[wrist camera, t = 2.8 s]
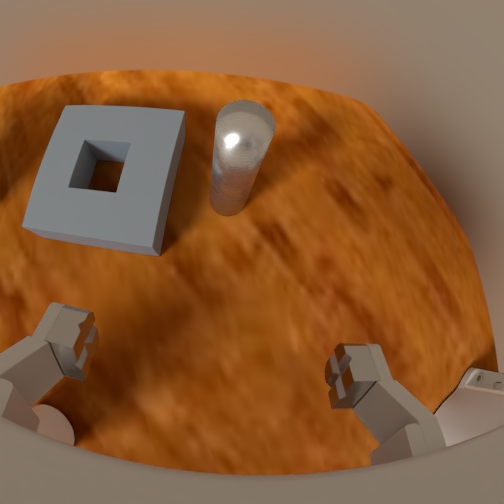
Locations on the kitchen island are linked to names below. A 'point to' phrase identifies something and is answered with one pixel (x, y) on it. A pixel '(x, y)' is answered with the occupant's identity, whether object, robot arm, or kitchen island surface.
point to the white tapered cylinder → (54, 424)
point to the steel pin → (238, 153)
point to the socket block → (130, 185)
